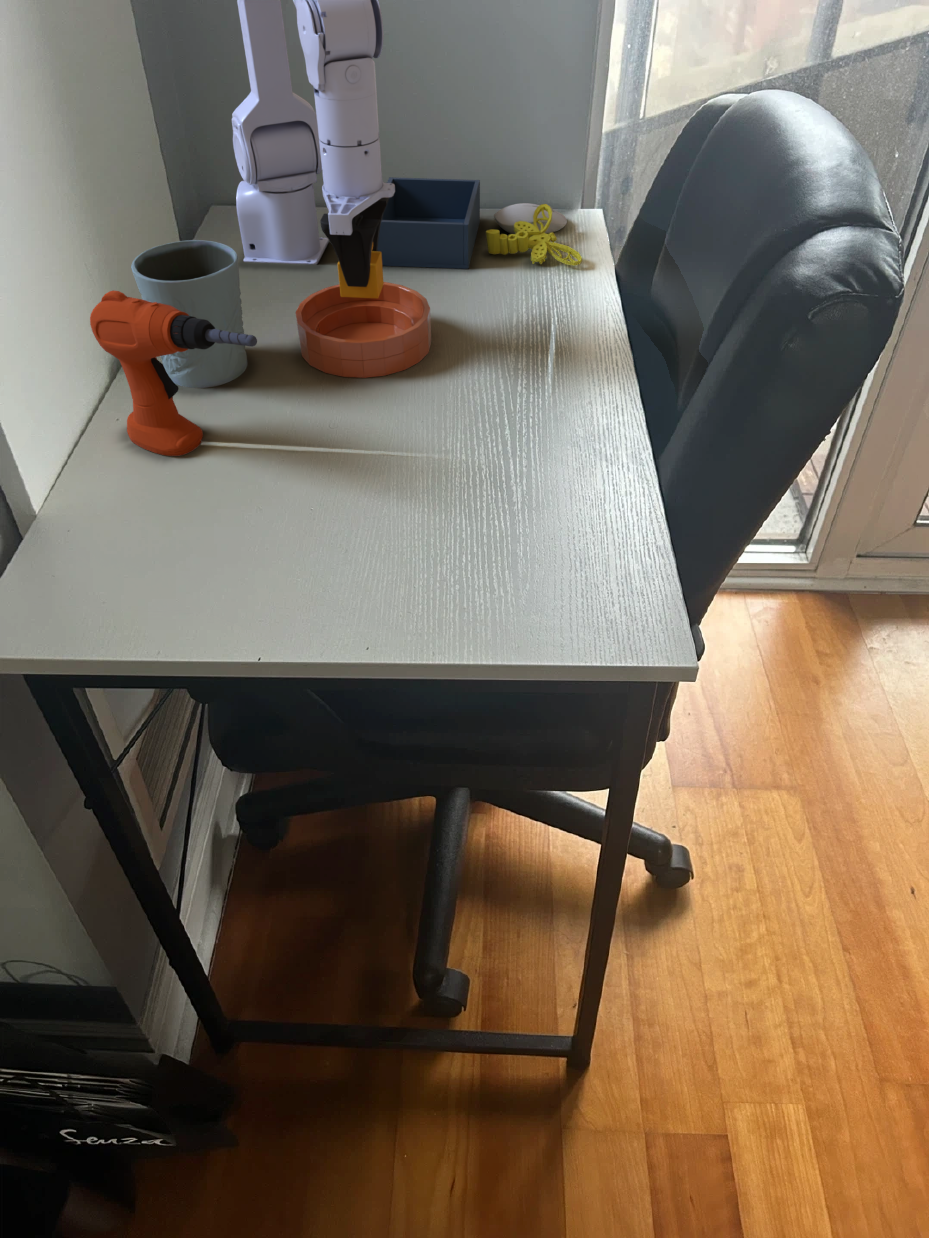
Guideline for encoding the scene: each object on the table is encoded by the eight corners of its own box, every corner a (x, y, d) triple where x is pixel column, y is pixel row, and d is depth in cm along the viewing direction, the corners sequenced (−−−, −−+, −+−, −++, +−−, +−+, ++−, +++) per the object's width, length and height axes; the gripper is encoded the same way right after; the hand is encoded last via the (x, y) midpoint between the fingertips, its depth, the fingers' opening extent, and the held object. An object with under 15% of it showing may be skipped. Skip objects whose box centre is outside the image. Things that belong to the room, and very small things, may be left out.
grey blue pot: (147, 392, 97) (116, 280, 89) (175, 345, 104) (149, 237, 96) (244, 395, 97) (222, 282, 88) (265, 347, 104) (247, 239, 95)
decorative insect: (508, 290, 117) (584, 267, 118) (506, 268, 114) (583, 245, 115) (476, 231, 124) (547, 210, 125) (473, 209, 121) (546, 187, 122)
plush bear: (340, 297, 98) (333, 231, 93) (346, 283, 101) (340, 217, 96) (378, 299, 98) (373, 232, 93) (383, 284, 100) (379, 219, 96)
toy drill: (274, 481, 83) (226, 319, 74) (121, 449, 91) (60, 299, 82) (306, 454, 86) (264, 294, 77) (155, 425, 94) (100, 277, 85)
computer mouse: (571, 232, 126) (572, 210, 124) (499, 240, 124) (500, 217, 122) (557, 216, 130) (559, 193, 128) (488, 223, 128) (488, 200, 126)
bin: (372, 265, 119) (369, 221, 115) (391, 218, 130) (389, 177, 126) (468, 269, 118) (468, 224, 114) (479, 221, 129) (479, 180, 125)
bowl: (287, 378, 99) (281, 339, 96) (317, 316, 109) (312, 278, 106) (421, 385, 98) (419, 345, 95) (438, 321, 108) (437, 283, 105)
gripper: (377, 165, 83) (387, 310, 93) (402, 114, 94) (409, 249, 103) (299, 163, 84) (317, 307, 93) (333, 112, 94) (346, 247, 104)
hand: (361, 277), depth 98 cm, fingers closed on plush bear, 3 cm apart
